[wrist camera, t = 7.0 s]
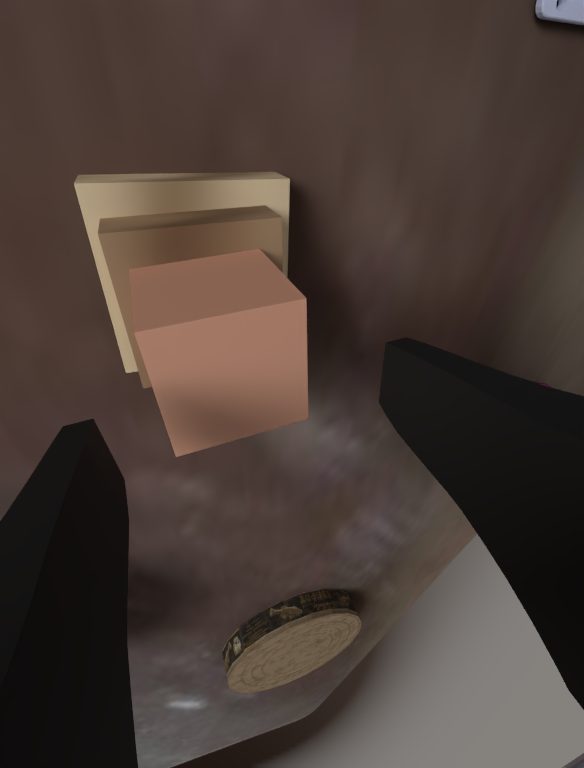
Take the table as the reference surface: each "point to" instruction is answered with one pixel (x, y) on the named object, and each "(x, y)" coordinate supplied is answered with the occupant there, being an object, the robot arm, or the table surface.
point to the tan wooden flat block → (182, 247)
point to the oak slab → (170, 196)
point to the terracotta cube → (222, 346)
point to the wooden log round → (290, 640)
